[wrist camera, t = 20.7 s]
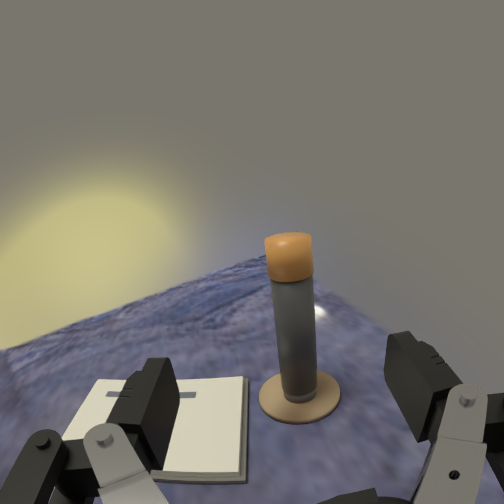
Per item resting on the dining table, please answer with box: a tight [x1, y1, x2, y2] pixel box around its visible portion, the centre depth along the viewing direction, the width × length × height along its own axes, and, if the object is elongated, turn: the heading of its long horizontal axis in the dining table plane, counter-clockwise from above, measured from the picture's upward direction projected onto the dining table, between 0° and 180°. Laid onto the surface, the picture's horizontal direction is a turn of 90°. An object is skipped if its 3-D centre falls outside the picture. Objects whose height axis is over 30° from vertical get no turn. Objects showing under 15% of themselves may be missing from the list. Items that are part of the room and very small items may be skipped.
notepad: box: [62, 376, 249, 484], centre depth 24 cm, size 16×12×1 cm
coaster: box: [259, 370, 340, 424], centre depth 26 cm, size 7×7×1 cm
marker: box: [265, 232, 317, 404], centre depth 24 cm, size 3×3×14 cm
